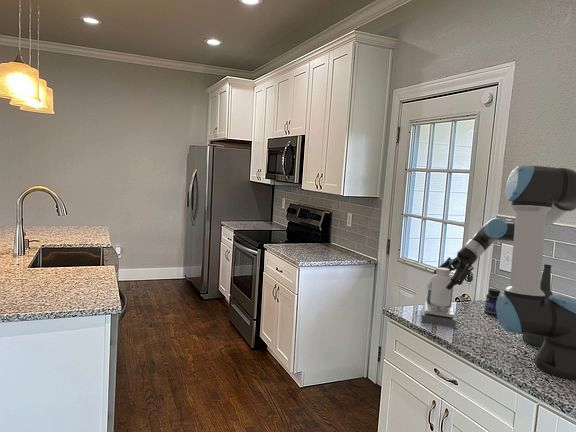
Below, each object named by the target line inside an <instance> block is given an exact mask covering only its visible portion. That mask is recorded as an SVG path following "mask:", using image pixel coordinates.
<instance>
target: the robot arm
mask: <svg viewBox="0 0 576 432" xmlns="http://www.w3.org/2000/svg"><path fill="white" fill-rule="evenodd" d="M504 193H505V198H506V200H507V201H509V202H511V205H510V207H511V208H512V209H513V211H514V212H515V220H514V222H508V221H505V220H504V219H501V218H498V217H495V218H492V219H490V220H488V221H487V222H486V223H485V224H484V225H482V226H481V227H479V230H478V231H477V232H476V233H475V234H474V235H473V236H472V237H471V238H470V239H469V240H468V241H467V242H466V243H465V244H464V245H463V247H461V248H460V250H458V251H457V253H456V254H457V255H456V257H454V258H452V257H450V256H449V257H448V258H447V259H446V260H445V261H444V262H443V263H442V264H441V265H439V266H438V267H437V268H448V269H450V273H451V272H453V271H454V273H453V276H452V279H451V280H449V281H448V282H447V283H446V284H445V285H444V286H443V287H442V288H441V289H440V290H439V292H440V294H441V295H442V296H444V295H445V294H446V293H447V292H448V291H449V290H450V289H451V288H452V287H453V288H454V287H455V286H457V285H458V286H461V285H462V284H463V282H464V281H465V279H466V278H467V277H468V275H469V274H470V273H471V272H472V271H473V270H474V267H473V265H474V264H475V263H476V262H477V261H478V259H479V258H480V257H481V255H482V254H484V253H485V252H486V250H487V249H488V248H490V246H491V245H492V244H494V243H495V242H496V241H502V242H503V241H504V242H512V243H513V244H512V257H511V269H510V281H509V285H508V286H507V287H505V288H504V293H503V294H499V295H500V296H498V298H497V302H496V312H497V315H496V317H497V320H498V323H499V325H500V327H501V328H502V329H503V331H505V332H508V333H513V334H518V335H523V334H528V335H537V336H545V337H544V342H543V344H542V346H541V347H539V350H538V351H537V353H536V355H535V358H534V365H535V366H536V367H537V368H538V369H540V371H541V370H542V371H543V372H545V373H547V374H549V375H553V376H555V377H559V378H562V379H565V380H566V379H567V380H571V381H576V299H574V298H571V297H568V296H563V295H558V294H553V295H550V297H549V300H545V294H544V293H543V292H542V290H541V289H540V283H541V278H542V272H543V268H542V267H543V255H544V243H545V233H546V232H545V231H546V230H547V229H548V228H549V227H551V226H552V225H553V224H554V223H555V222H557V221H558V220H560V218H562V216H565V214H567V213H568V212H572V211H574V210H576V171H575V170H573V169H570V168H568V167H567V168H566V167H554V166H553V167H550V166H541V165H539V166H538V165H518V166H516V167H515V168H514V169H512V171H511V172H510V175H509V176H508V179H507V181H506V185H505V191H504ZM434 274H437V273H436V269H435V270H434V271H433V275H434ZM425 286H426V288H427V290H428V289H429V290H431V287H432V278H431V279H430V281H428V283H427V284H425Z"/></svg>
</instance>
